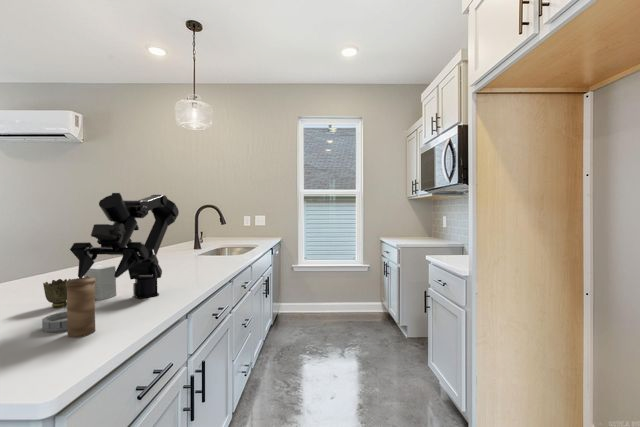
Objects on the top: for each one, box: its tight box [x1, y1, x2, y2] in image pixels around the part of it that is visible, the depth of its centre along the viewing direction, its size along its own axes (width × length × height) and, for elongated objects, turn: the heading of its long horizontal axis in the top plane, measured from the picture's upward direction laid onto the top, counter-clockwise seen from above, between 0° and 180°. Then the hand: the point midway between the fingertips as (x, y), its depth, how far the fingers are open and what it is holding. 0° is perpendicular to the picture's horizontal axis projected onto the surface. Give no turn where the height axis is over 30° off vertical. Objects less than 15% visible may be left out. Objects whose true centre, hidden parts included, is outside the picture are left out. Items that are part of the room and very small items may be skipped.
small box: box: [83, 264, 117, 301], centre depth 107 cm, size 8×6×10 cm
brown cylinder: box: [66, 277, 96, 339], centre depth 76 cm, size 6×6×13 cm
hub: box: [41, 310, 68, 333], centre depth 81 cm, size 9×9×2 cm
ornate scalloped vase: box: [42, 278, 72, 309], centre depth 96 cm, size 8×7×8 cm
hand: (97, 277), depth 82 cm, fingers open, 9 cm apart
